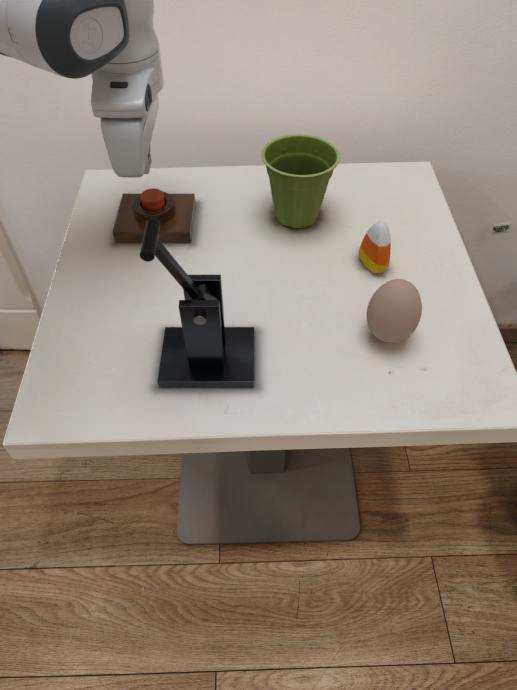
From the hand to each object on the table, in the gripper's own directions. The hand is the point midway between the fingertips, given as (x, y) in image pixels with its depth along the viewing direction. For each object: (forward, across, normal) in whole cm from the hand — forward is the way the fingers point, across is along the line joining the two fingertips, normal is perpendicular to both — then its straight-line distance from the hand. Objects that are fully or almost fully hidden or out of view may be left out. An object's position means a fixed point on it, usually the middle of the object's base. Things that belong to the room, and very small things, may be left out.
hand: (144, 168), depth 77 cm
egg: (+10, +24, +34) cm, 43 cm away
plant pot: (+10, -2, +23) cm, 26 cm away
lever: (-5, +28, +7) cm, 29 cm away
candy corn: (+10, +10, +34) cm, 37 cm away
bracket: (+10, +28, +10) cm, 31 cm away
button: (+6, 0, 0) cm, 6 cm away
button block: (+10, 0, 0) cm, 10 cm away
